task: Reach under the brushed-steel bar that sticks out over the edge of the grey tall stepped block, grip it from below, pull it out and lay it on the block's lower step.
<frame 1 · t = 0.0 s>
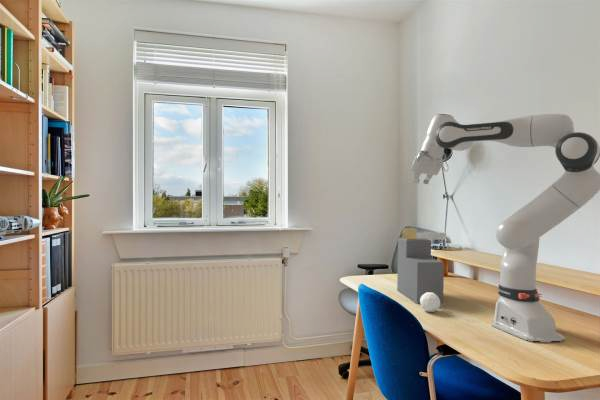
hand: (420, 183, 156), 52 cm above the table, fingers open, 8 cm apart
grey tall stepped block: (418, 296, 167), on the table
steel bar: (424, 239, 173), point 26 cm above the table, touching grey tall stepped block
ball: (429, 311, 145), on the table
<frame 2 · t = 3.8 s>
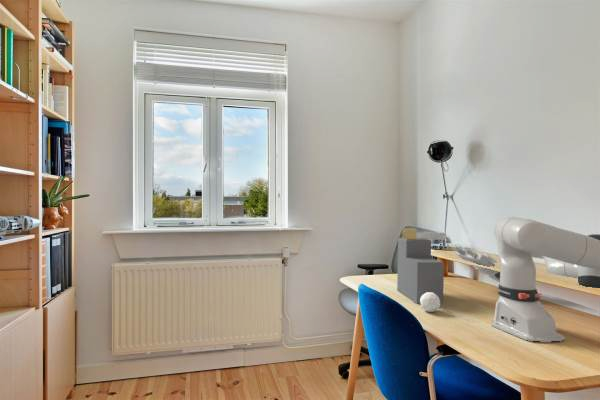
hand: (460, 249, 175), 21 cm above the table, fingers open, 8 cm apart
nothing on the table moved.
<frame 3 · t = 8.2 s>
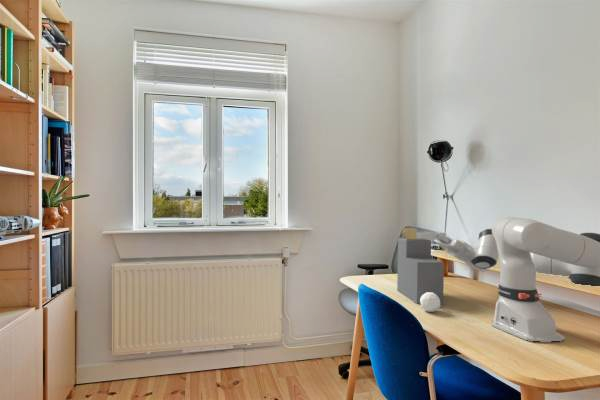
hand: (436, 235, 174), 28 cm above the table, fingers closed on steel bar, 3 cm apart
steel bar: (424, 239, 173), point 26 cm above the table, touching gripper, grey tall stepped block
everything else where it was.
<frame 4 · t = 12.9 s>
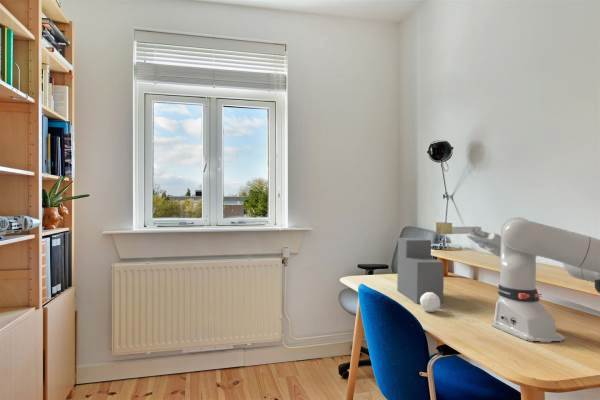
hand: (471, 229, 167), 32 cm above the table, fingers closed on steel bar, 3 cm apart
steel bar: (459, 233, 166), point 30 cm above the table, touching gripper
everything else where it was.
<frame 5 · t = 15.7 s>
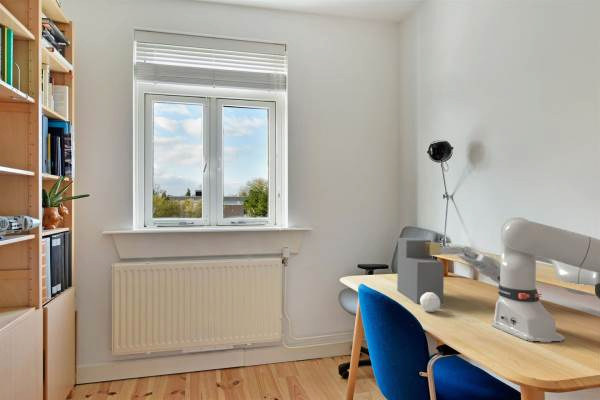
hand: (461, 249, 164), 23 cm above the table, fingers closed on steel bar, 3 cm apart
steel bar: (448, 253, 164), point 21 cm above the table, touching gripper
everything else where it was.
when the fingers open (22 cm above the table, at t = 17.9 s): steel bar drops 2 cm, resting on grey tall stepped block.
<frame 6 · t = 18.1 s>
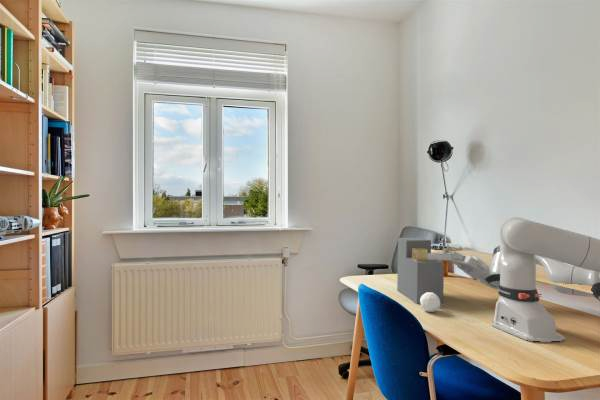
hand: (448, 251, 163), 22 cm above the table, fingers open, 5 cm apart
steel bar: (435, 259, 162), point 18 cm above the table, touching grey tall stepped block
everything else where it was.
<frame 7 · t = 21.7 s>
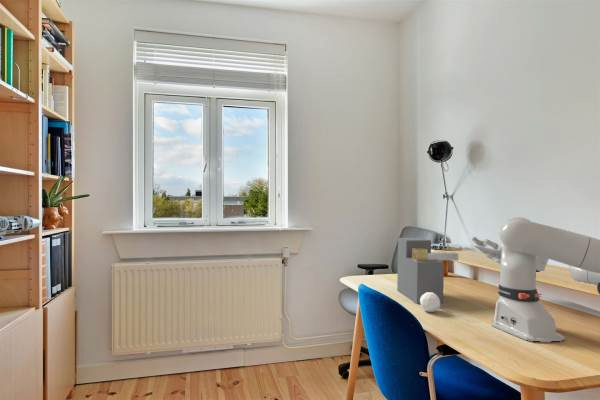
hand: (479, 239, 165), 27 cm above the table, fingers open, 8 cm apart
nothing on the table moved.
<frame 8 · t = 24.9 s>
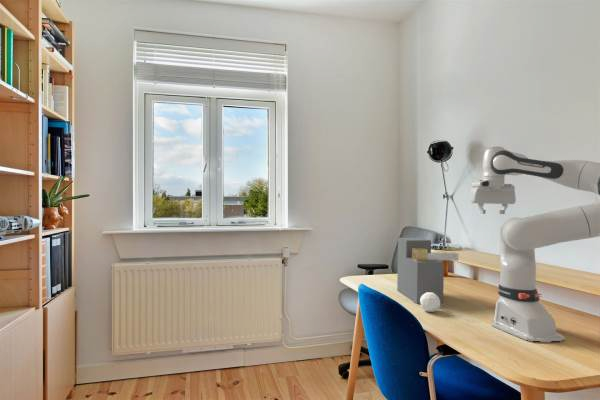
hand: (492, 213, 163), 39 cm above the table, fingers open, 8 cm apart
nothing on the table moved.
at the end: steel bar inside the target area (0.2 cm from its centre), point 18.0 cm above the table; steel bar tilted 0°; the gripper is holding nothing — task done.
